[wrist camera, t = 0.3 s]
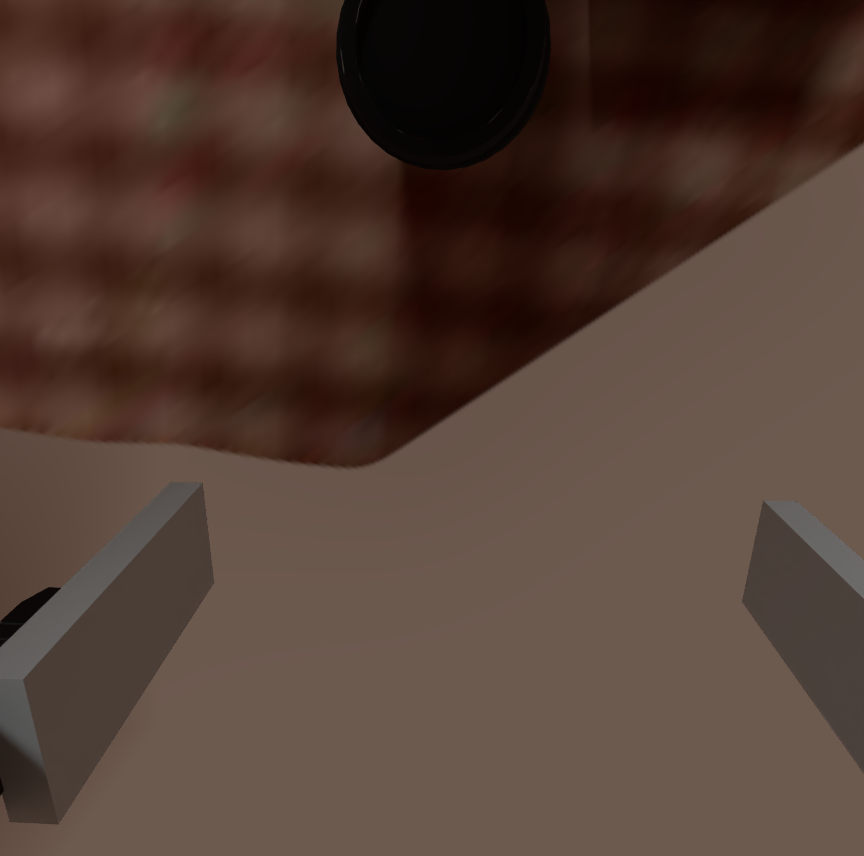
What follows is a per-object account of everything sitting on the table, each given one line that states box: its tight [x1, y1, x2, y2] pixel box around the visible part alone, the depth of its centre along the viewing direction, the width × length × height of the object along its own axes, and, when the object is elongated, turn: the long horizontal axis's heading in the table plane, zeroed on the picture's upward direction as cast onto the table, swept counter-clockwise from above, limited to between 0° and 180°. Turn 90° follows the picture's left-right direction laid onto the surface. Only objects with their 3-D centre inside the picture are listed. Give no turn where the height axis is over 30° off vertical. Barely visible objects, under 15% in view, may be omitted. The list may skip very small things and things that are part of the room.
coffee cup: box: [336, 0, 551, 170], centre depth 30 cm, size 8×8×15 cm
